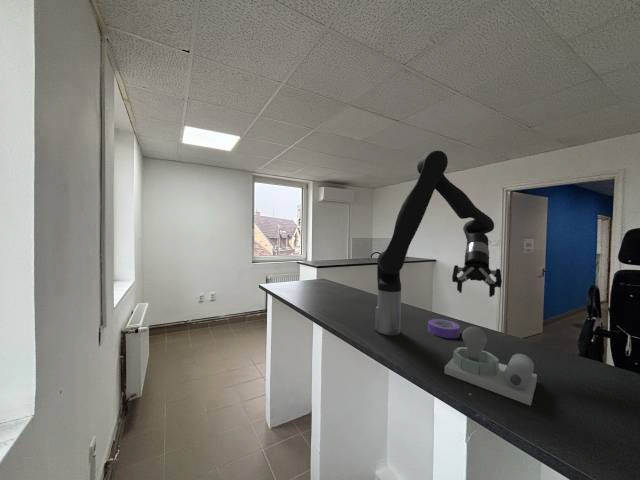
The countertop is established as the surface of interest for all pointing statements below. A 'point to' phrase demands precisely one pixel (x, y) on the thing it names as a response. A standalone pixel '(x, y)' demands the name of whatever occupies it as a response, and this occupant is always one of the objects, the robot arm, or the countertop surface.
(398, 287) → the robot arm
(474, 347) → the lightbulb
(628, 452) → the countertop surface
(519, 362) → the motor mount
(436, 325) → the masking tape
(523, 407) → the countertop surface
